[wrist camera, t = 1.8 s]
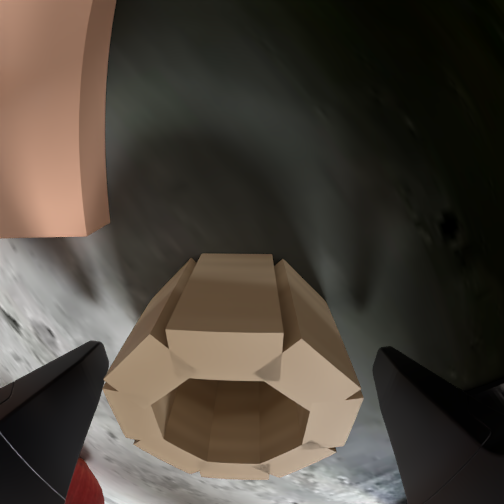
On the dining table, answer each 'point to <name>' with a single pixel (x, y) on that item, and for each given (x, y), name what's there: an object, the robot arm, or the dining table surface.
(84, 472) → the onion
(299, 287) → the bead
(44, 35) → the rod stand
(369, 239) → the dining table surface
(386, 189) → the dining table surface
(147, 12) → the dining table surface
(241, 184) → the dining table surface
